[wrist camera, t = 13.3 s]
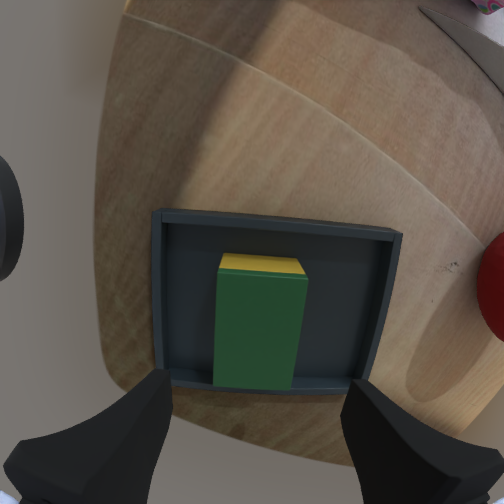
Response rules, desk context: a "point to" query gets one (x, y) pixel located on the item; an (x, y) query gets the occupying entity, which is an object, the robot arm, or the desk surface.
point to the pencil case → (488, 5)
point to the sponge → (257, 321)
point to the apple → (492, 286)
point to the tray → (316, 304)
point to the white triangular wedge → (474, 45)
